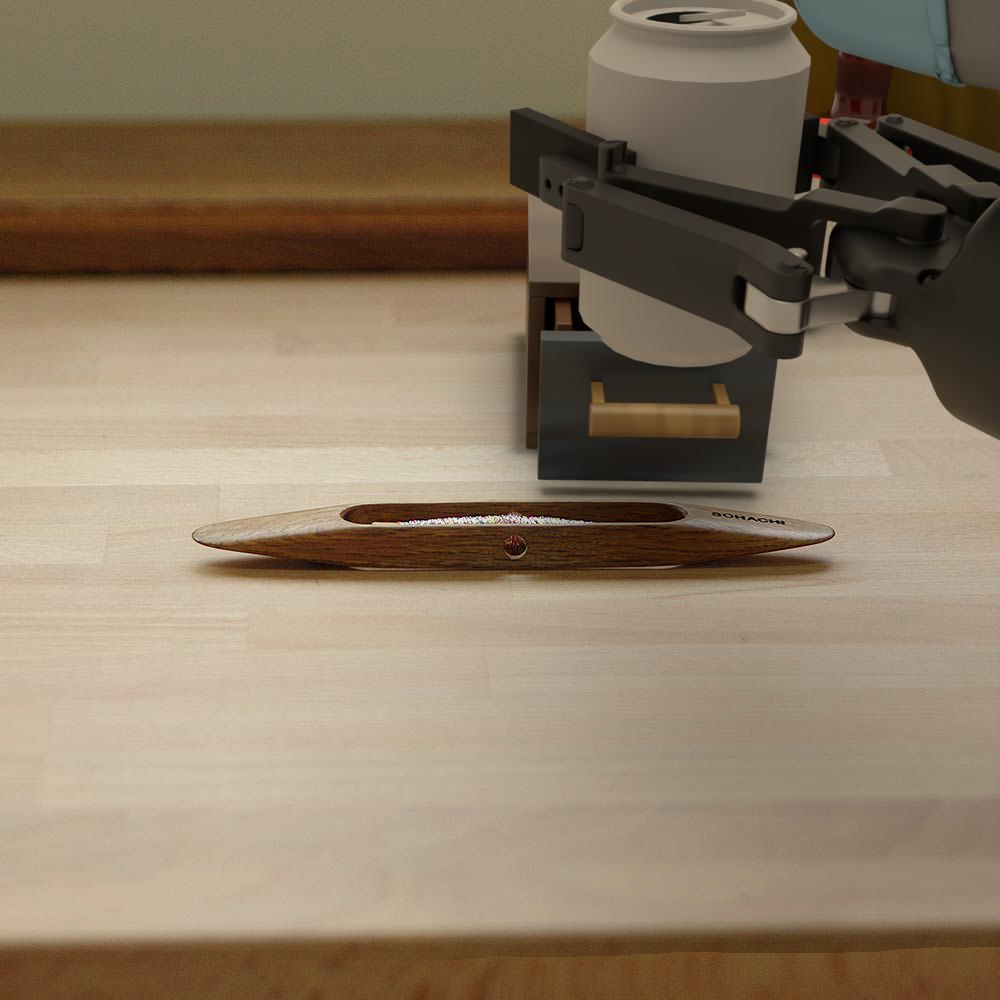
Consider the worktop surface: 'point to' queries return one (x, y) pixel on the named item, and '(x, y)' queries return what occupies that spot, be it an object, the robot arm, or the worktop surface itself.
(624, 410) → the drawer
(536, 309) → the cabinet
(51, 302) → the worktop surface
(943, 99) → the plate
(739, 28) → the can
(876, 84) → the vase
